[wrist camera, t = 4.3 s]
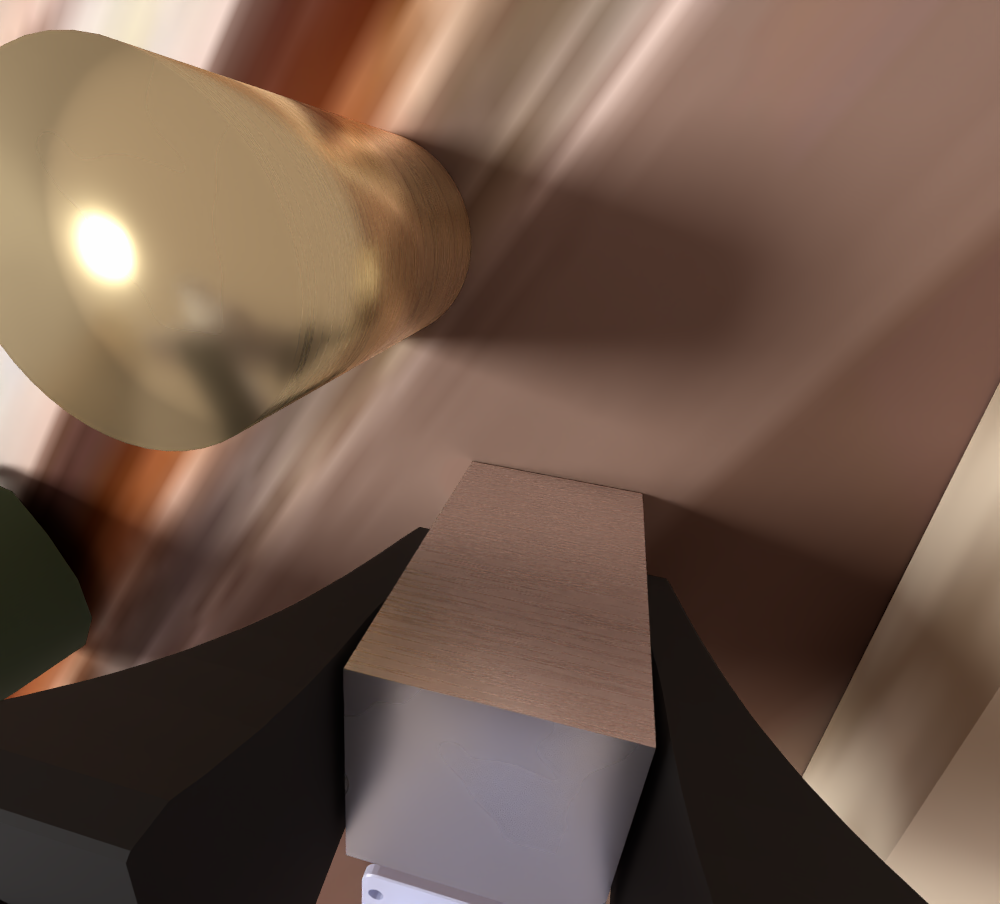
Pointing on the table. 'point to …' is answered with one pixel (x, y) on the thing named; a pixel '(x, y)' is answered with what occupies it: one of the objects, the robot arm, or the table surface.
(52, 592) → the character mug
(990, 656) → the socket plate
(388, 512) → the table surface
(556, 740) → the square bit
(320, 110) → the round bit
